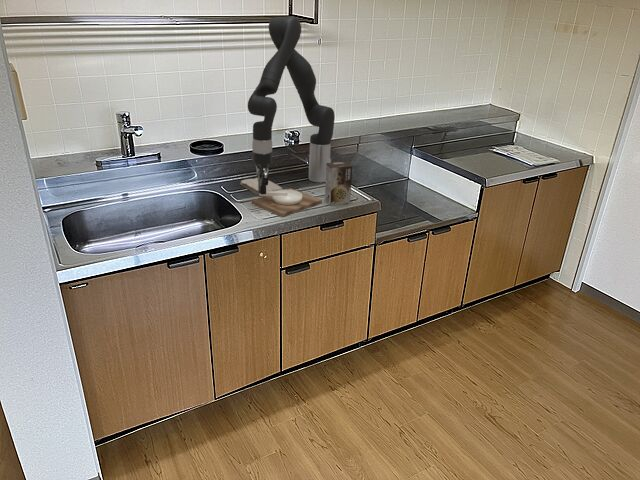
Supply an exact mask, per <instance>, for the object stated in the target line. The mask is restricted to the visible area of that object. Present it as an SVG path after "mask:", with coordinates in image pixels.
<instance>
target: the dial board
mask: <svg viewBox="0 0 640 480" xmlns="http://www.w3.org/2000/svg"><path fill="white" fill-rule="evenodd" d="M285 190H295V191H298V192H300V193H301V194H302V201H301V202H300V203H298V204H294V205H282V204H278V203H275V202H274V201H273V200H272V196H260V197H258V198H254V199H251V201H250V202H251V205H254V206H256V207H258V208H260V209H263V210H265V211H268V212H269V213H272V214H274V215H277V216H279V217H281V218H285V217H287V216H290V214H291V215H294V214H296V213H299V212H302V211H304V210H307V209H310V208H313V207H315V206H318V205H321V204H323V199H321V198H318V197H316V196H314V195H313V196H312V195H309V194H307V193H305V192H303V191H299V190H297V189H294V188H291V187H290V188H286V189H285ZM284 216H285V217H284Z"/></svg>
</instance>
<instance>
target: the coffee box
mask: <svg viewBox="0 0 640 480" xmlns="http://www.w3.org/2000/svg"><path fill="white" fill-rule="evenodd" d="M352 178H353V165H352V164H350V162H348V161H334V162H331V163H326V182H324V183H325V186H324V201H325V202H326V203H327V204H328V205H329V206H338V205H346V203H348V204H350V203H351V194H352Z"/></svg>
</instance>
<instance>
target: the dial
mask: <svg viewBox="0 0 640 480" xmlns="http://www.w3.org/2000/svg"><path fill="white" fill-rule="evenodd" d="M264 182H265V181H264ZM295 190H296V189H294V190H286V189H283V190H278V191H266V194H261V193H260V179H259V180H258V193H259V195H260V196H259V197H264V196H272V200H273V201H274V202H275V203H278V204H282V205H294V204H298V203H300V202H301V201H302V194H301V193H300V192H301V191H300V192H298V191H299V190H297V191H295Z"/></svg>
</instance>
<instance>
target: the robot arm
mask: <svg viewBox="0 0 640 480" xmlns="http://www.w3.org/2000/svg"><path fill="white" fill-rule="evenodd" d="M268 33H269V36H270V39H271V41H272V43H273V45H274V46H275V48H276V49H277V50H276V52H275V54H274V55H273V56H272V57H271V58H270V59H269V60H268V61H267V63H266V64H265V66H264V69H263V71H262V72H261V73H262V74H261V77H260V80H259V83H258V85H256V87H255V89H254V90H253V92H252V94H251V95H250V97H249V99H248V101H247V111H248V112H249V114H251V115H253V116H260V117H264V119H263V120H261V121H255V122H254V123H253V124H252V125H253V126H252V144H251V146H252V147H251V148H252V152H251V153H252V154H251V155H252V158H251V159H252V162H253V163H254V164H255V169H256V171H255V172H256V178H258V180H259V179H260V193H261V194H266V185H268V180H269V179H270V173H269V167H268V165H269V164H272V162H273V141H272V139H273V138H272V136H273V133H272V132H273V131H272V130H273V123H274V119H275V116H276V114H277V110H278V106H277V105H278V104H277V101H276V100H275V98H274V97H271V96H270V95H275V94H276V93H277V92H278V89H279V86H280V83H281V80H282V77H283V74H284V71H285V69H287V71H288V73H289V76H290V78H291V80H292V84H293V85H294V88H295V90H296V92H297V94H298V96H299V99H300V102H301V104H302V106H303V110H304V113H305V116H306V119H307V121H308V123H309V124H310V125H311V126H313V127H316V128H318V132H317V133H313V134H311V135H310V138H309V159H308V160H309V161H308V180H309V181H311V182H314V183H326V163H332V159H331V146H332V145H331V143H332V138H333V134H334V128H335V111H334V109H333V108H332V107H330V106H326V105H322V104H320V103H319V102H318V101H317V98H316V96H315V90H316V87H317V78H316V75H315V72H314V69H313V68H312V65H311V64H310V62H309V61H308V60H307V59H306V58H305V57H304V56H303V55H302V54H300V53H299V52H298V50H296V49H295V48H296V47H297V45H298V42H299V40H300V37H301V35H302V25H301V22H300V19H298V17H296V16H293V15H292V16H278V17H277V16H276V17H272V18H271V19H270V21H269V23H268ZM264 181H265V182H264ZM269 181H270V180H269Z"/></svg>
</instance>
